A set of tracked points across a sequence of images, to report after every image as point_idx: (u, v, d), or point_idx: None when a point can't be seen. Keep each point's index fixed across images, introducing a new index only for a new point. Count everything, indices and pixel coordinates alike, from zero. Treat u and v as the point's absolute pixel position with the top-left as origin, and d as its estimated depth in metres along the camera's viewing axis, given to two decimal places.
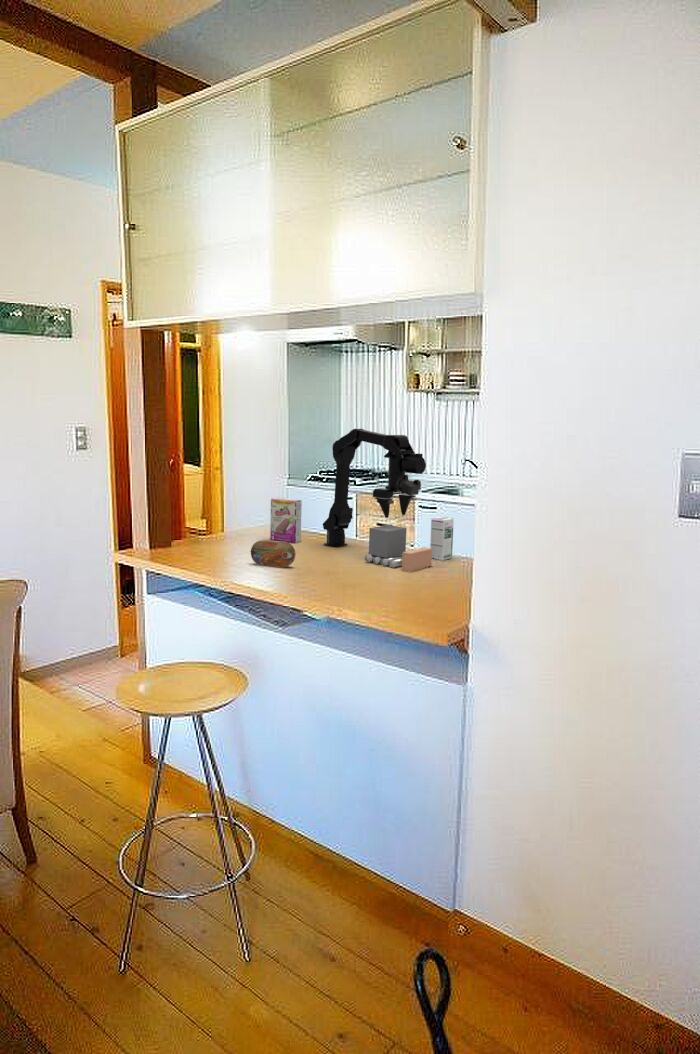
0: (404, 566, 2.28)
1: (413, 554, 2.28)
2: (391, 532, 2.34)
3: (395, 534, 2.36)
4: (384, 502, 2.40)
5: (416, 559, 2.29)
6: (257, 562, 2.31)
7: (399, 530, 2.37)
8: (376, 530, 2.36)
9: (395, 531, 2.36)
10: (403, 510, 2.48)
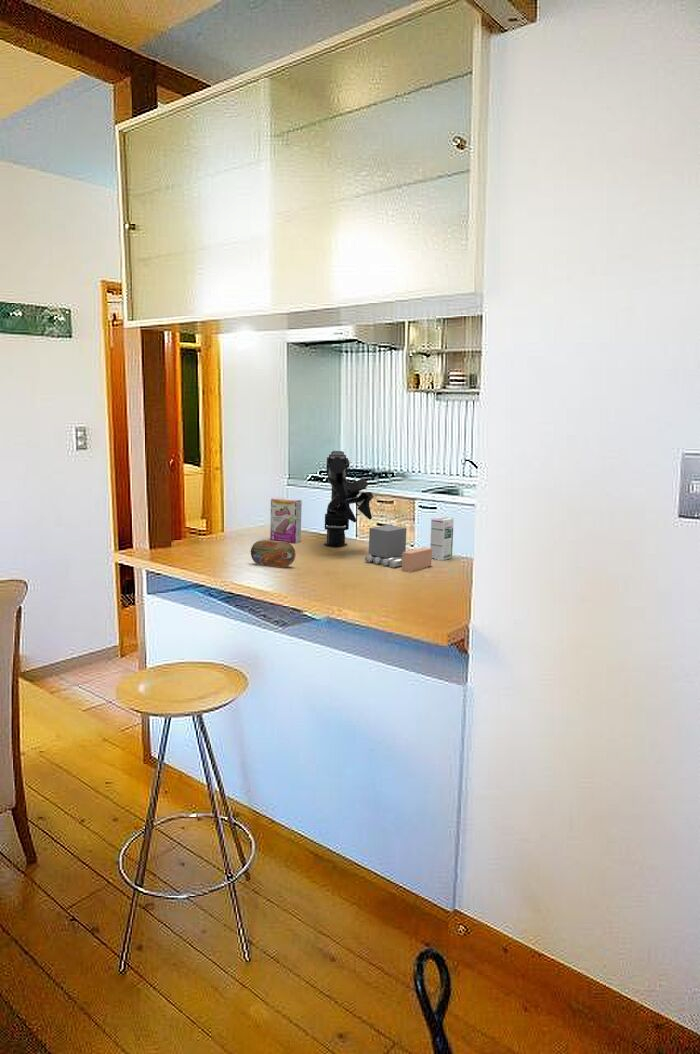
0: (404, 566, 2.28)
1: (413, 554, 2.28)
2: (391, 532, 2.34)
3: (395, 534, 2.36)
4: (345, 510, 2.45)
5: (416, 559, 2.29)
6: (257, 562, 2.31)
7: (399, 530, 2.37)
8: (376, 530, 2.36)
9: (395, 531, 2.36)
10: (368, 515, 2.50)
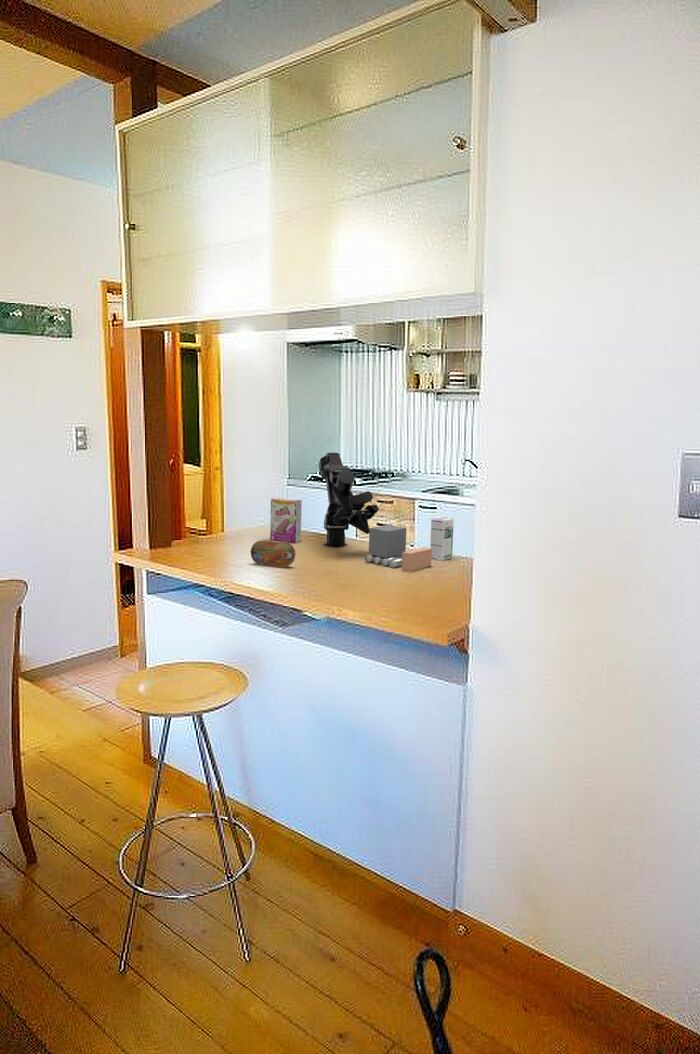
0: (404, 566, 2.28)
1: (413, 554, 2.28)
2: (391, 532, 2.34)
3: (395, 534, 2.36)
4: (357, 522, 2.46)
5: (416, 559, 2.29)
6: (257, 562, 2.31)
7: (399, 530, 2.37)
8: (376, 530, 2.36)
9: (395, 531, 2.36)
10: None
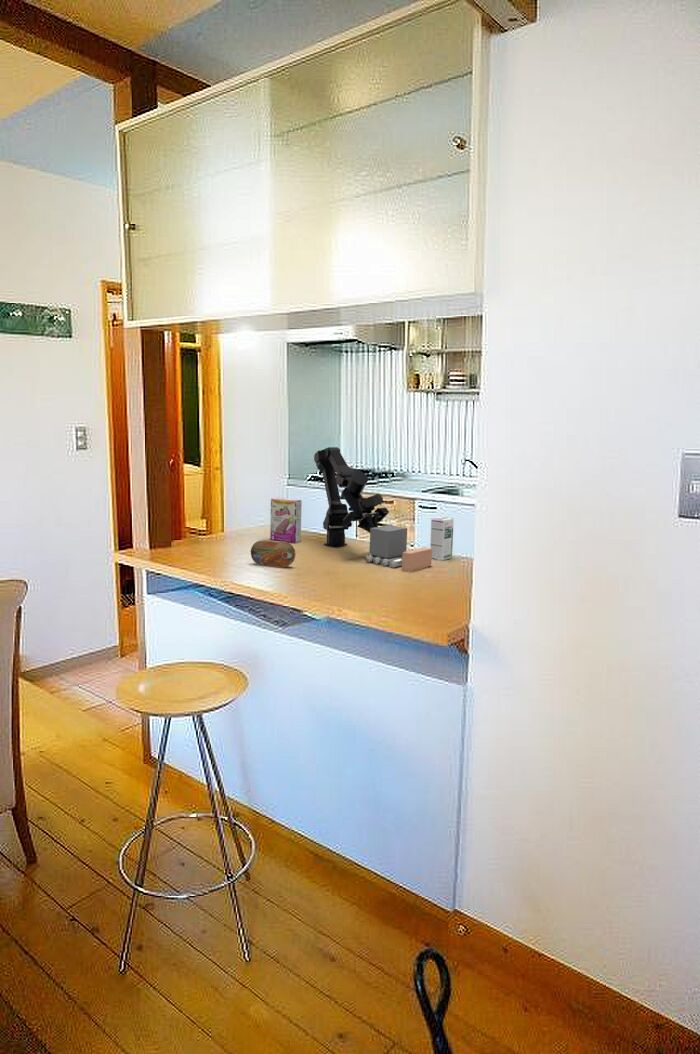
0: (404, 566, 2.28)
1: (413, 554, 2.28)
2: (392, 532, 2.34)
3: (396, 534, 2.36)
4: (367, 525, 2.43)
5: (416, 559, 2.29)
6: (257, 562, 2.31)
7: (400, 530, 2.37)
8: (377, 530, 2.36)
9: (396, 531, 2.35)
10: None
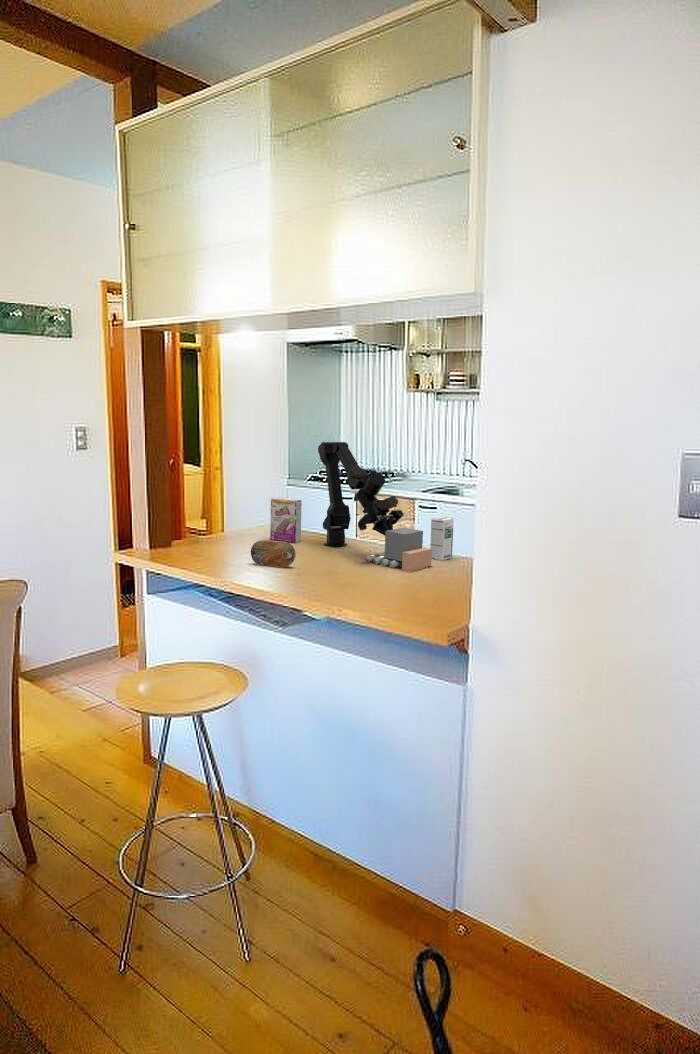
0: (404, 566, 2.28)
1: (413, 554, 2.28)
2: (408, 535, 2.30)
3: (412, 537, 2.31)
4: (382, 527, 2.39)
5: (416, 559, 2.29)
6: (257, 562, 2.31)
7: (416, 533, 2.33)
8: (392, 533, 2.31)
9: (412, 534, 2.31)
10: None
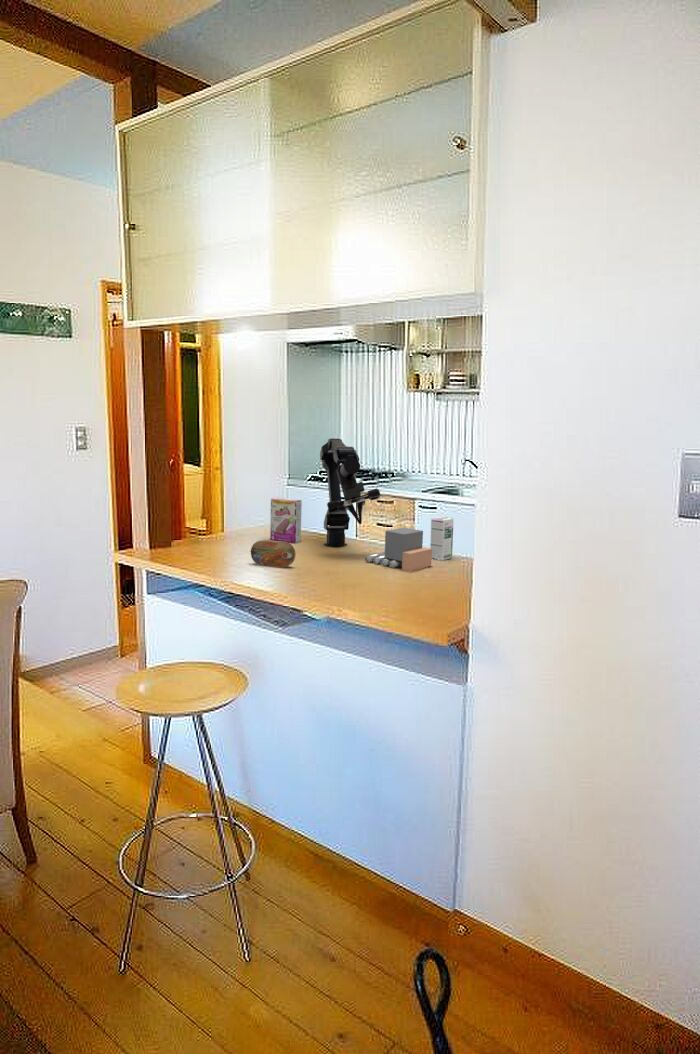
0: (404, 566, 2.28)
1: (413, 554, 2.28)
2: (408, 535, 2.30)
3: (412, 537, 2.31)
4: None
5: (416, 559, 2.29)
6: (257, 562, 2.31)
7: (416, 533, 2.33)
8: (392, 533, 2.31)
9: (412, 534, 2.31)
10: None
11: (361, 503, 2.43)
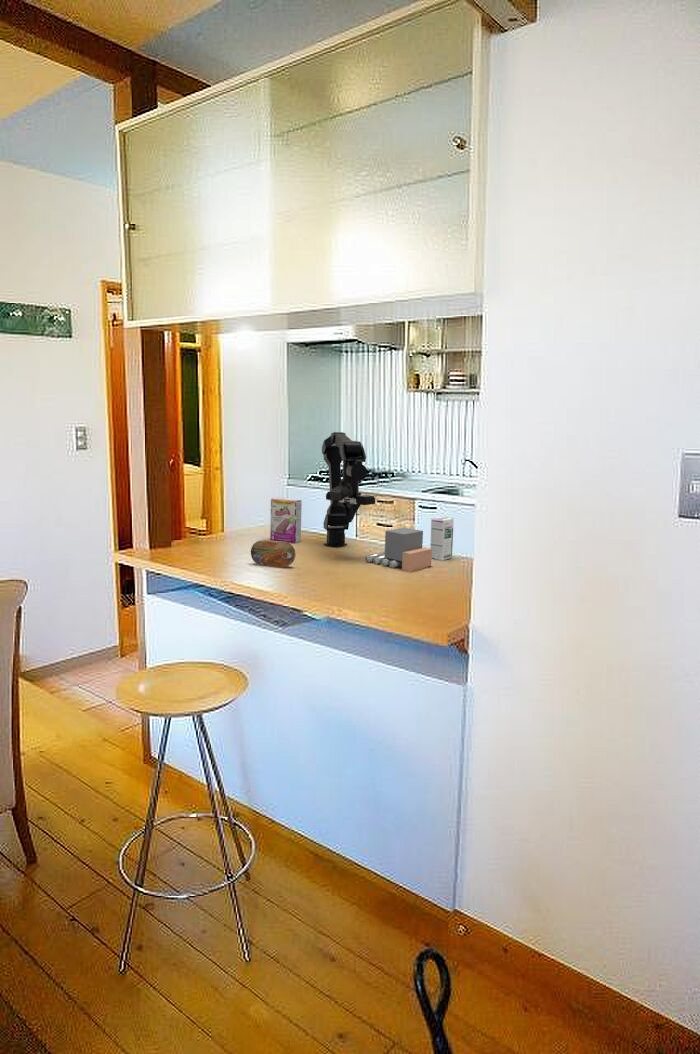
0: (404, 566, 2.28)
1: (413, 554, 2.28)
2: (408, 535, 2.30)
3: (412, 537, 2.31)
4: None
5: (416, 559, 2.29)
6: (257, 562, 2.31)
7: (416, 533, 2.33)
8: (392, 533, 2.31)
9: (412, 534, 2.31)
10: None
11: (349, 505, 2.42)
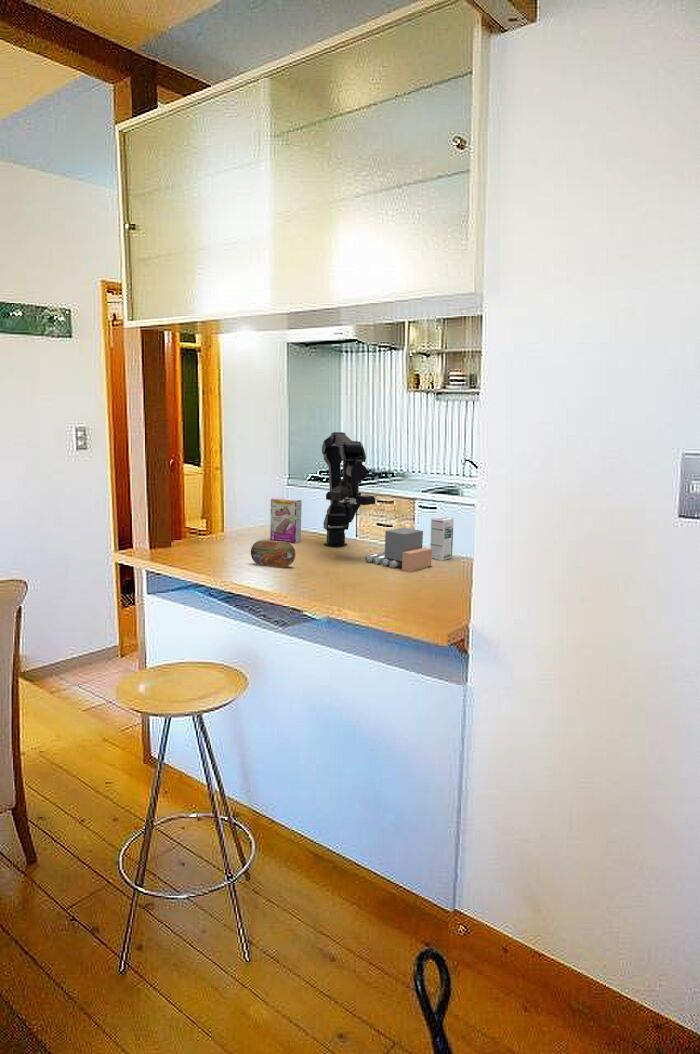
0: (404, 566, 2.28)
1: (413, 554, 2.28)
2: (408, 535, 2.30)
3: (412, 537, 2.31)
4: None
5: (416, 559, 2.29)
6: (257, 562, 2.31)
7: (416, 533, 2.33)
8: (392, 533, 2.31)
9: (412, 534, 2.31)
10: None
11: (349, 505, 2.42)
